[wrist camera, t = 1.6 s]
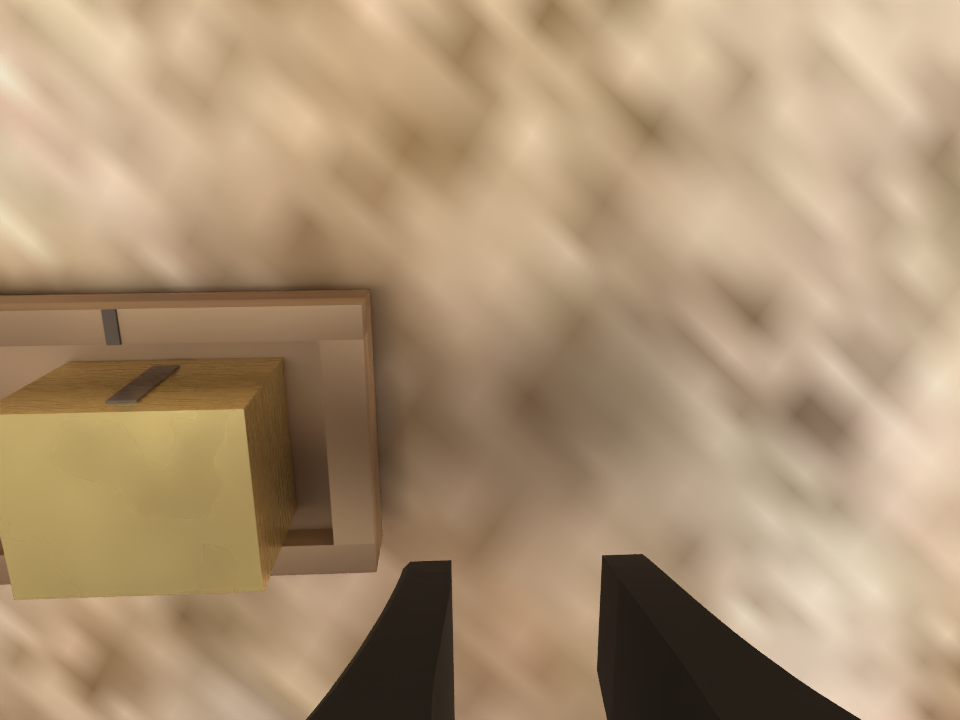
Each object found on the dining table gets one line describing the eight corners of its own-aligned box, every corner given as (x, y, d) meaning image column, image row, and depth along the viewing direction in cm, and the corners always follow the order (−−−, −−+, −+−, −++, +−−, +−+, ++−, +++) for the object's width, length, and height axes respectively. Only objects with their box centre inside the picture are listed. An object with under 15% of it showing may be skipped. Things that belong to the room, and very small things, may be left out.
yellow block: (296, 511, 18) (263, 593, 15) (95, 517, 18) (14, 601, 15) (283, 355, 17) (243, 406, 14) (67, 360, 17) (-28, 412, 13)
